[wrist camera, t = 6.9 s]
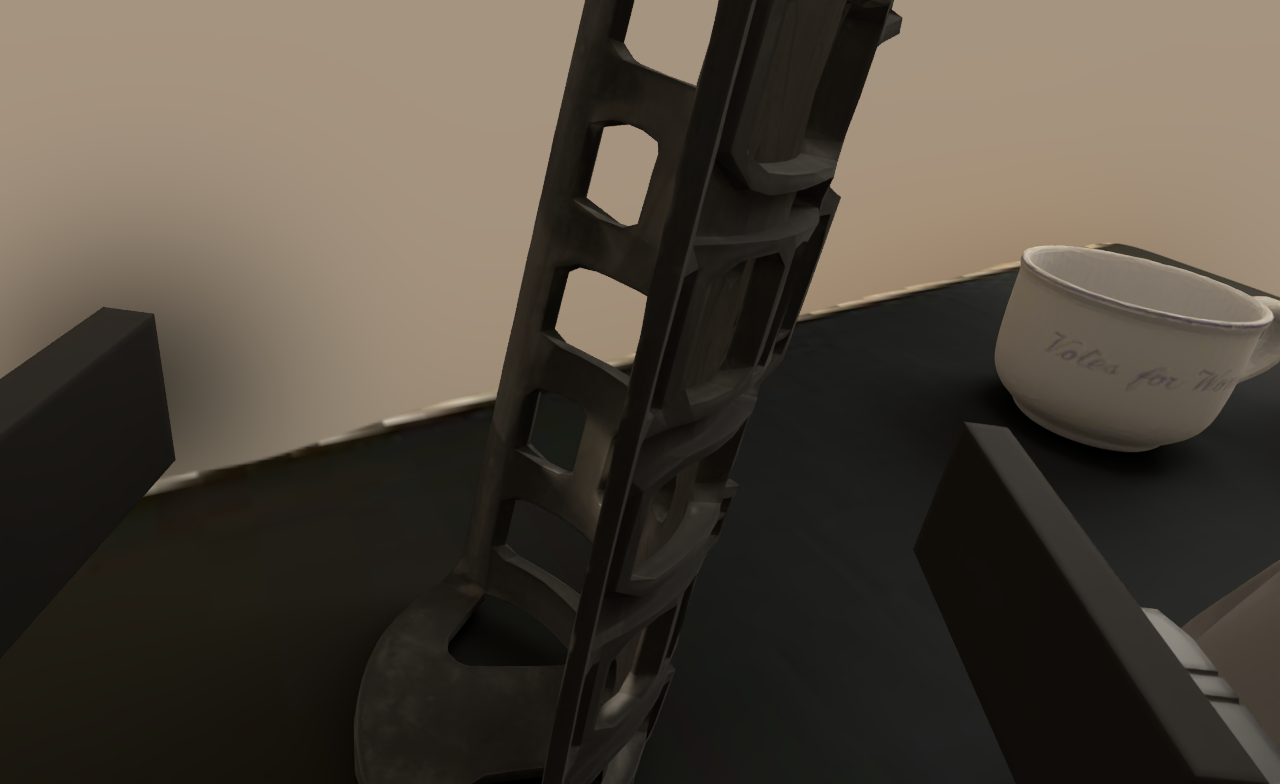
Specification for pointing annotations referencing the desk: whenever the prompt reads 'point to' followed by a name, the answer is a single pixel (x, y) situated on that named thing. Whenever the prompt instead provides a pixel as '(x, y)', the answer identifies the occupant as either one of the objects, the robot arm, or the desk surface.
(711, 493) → the holder
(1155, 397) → the teacup
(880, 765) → the desk surface
